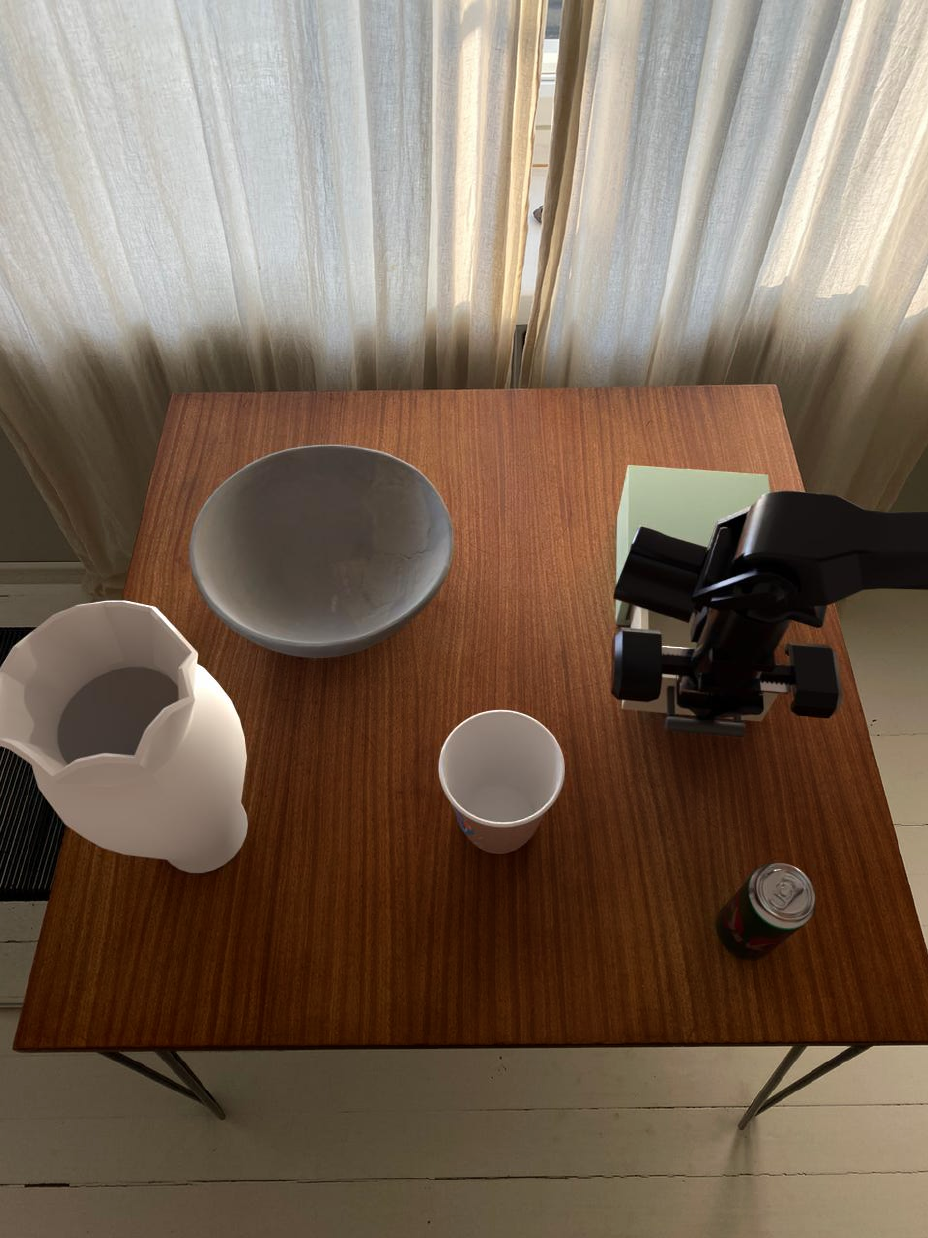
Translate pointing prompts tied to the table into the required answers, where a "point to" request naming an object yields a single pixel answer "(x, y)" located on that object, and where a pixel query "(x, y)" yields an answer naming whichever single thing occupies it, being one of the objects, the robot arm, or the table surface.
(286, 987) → the table surface
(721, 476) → the cabinet
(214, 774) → the vase
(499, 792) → the coffee cup
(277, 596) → the bowl
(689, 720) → the drawer
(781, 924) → the soda can
